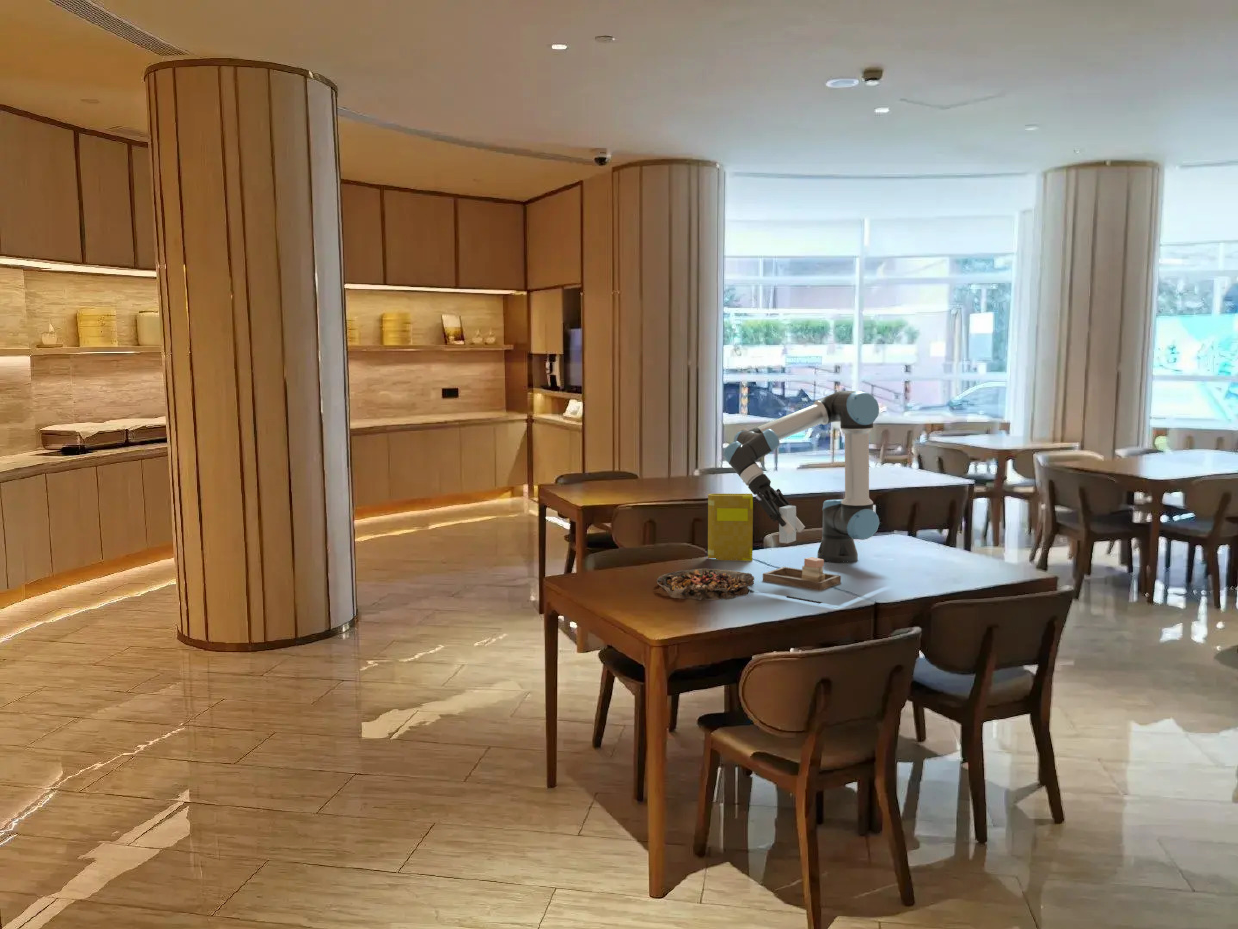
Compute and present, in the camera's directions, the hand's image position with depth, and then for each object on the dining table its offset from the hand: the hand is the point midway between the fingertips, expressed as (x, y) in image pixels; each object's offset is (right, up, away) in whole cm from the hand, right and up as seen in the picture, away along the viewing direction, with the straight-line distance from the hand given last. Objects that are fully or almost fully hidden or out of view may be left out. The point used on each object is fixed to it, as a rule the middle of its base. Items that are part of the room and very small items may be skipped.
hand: (796, 531), depth 325 cm
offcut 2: (+5, -15, -2) cm, 16 cm away
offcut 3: (+5, -18, -2) cm, 18 cm away
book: (-18, -14, +44) cm, 50 cm away
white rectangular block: (-3, -4, +3) cm, 5 cm away
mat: (+2, -20, -15) cm, 25 cm away
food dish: (-31, -20, -2) cm, 36 cm away
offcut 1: (+5, -12, -2) cm, 13 cm away
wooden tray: (+2, -18, +1) cm, 19 cm away
